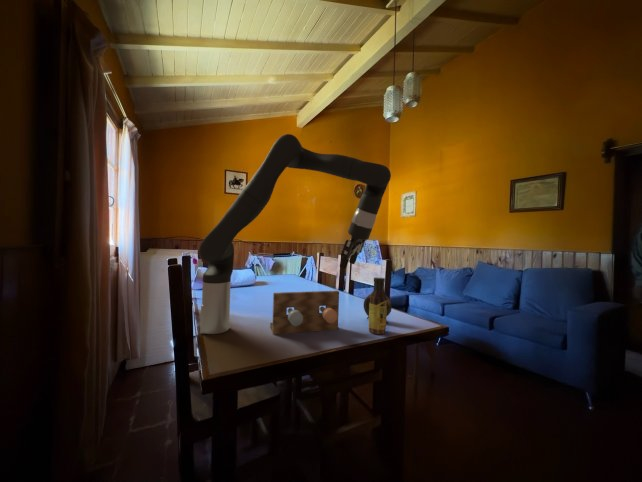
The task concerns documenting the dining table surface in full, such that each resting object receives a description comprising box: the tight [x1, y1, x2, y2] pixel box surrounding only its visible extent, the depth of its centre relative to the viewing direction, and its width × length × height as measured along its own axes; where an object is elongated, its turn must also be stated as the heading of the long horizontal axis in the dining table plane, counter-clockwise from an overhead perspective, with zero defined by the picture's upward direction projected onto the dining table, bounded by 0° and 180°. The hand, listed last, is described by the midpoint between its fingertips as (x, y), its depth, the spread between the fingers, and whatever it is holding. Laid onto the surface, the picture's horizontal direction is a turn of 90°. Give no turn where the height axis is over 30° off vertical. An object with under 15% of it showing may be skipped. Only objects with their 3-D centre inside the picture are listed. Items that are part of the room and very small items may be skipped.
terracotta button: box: [319, 306, 339, 323], centre depth 95 cm, size 10×4×4 cm, turn 18°
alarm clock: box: [363, 293, 393, 324], centre depth 111 cm, size 11×5×16 cm, turn 58°
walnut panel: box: [269, 290, 340, 335], centre depth 100 cm, size 24×8×14 cm, turn 108°
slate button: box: [287, 308, 303, 326], centre depth 91 cm, size 10×4×4 cm, turn 18°
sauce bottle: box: [368, 277, 387, 335], centre depth 98 cm, size 6×6×20 cm
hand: (347, 265), depth 96 cm, fingers open, 8 cm apart
